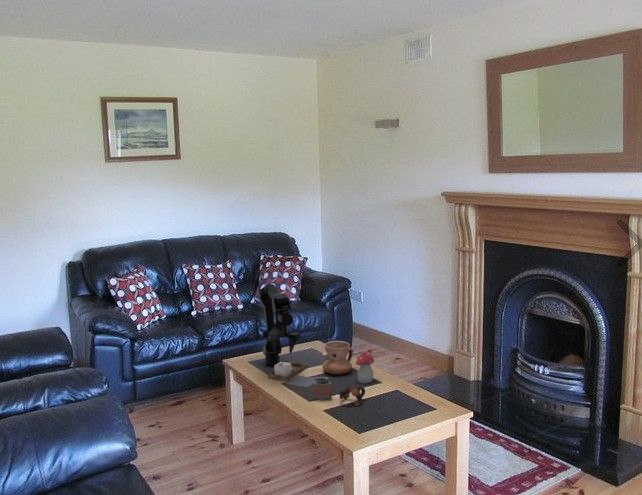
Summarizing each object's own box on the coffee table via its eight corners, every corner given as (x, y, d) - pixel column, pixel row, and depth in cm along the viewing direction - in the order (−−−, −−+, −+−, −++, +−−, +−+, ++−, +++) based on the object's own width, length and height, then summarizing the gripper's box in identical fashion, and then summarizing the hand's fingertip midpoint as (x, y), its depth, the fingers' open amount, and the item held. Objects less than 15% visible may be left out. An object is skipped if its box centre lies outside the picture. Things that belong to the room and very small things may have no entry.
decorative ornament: (372, 377, 289) (371, 347, 287) (377, 382, 282) (376, 351, 280) (353, 380, 286) (353, 350, 284) (358, 385, 280) (358, 354, 278)
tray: (268, 379, 291) (268, 374, 290) (289, 366, 309) (289, 361, 308) (287, 382, 286) (287, 377, 286) (307, 368, 304) (307, 364, 304)
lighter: (332, 397, 266) (331, 375, 264) (331, 400, 262) (330, 378, 261) (314, 397, 267) (313, 375, 265) (313, 400, 263) (312, 378, 262)
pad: (285, 384, 283) (285, 383, 283) (298, 376, 294) (297, 375, 294) (308, 388, 278) (308, 387, 278) (319, 379, 288) (319, 378, 288)
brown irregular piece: (352, 410, 253) (342, 392, 254) (342, 412, 261) (333, 395, 262) (373, 396, 259) (363, 379, 260) (362, 399, 267) (353, 382, 268)
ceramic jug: (331, 379, 288) (331, 351, 286) (314, 371, 300) (314, 343, 298) (361, 372, 298) (361, 344, 296) (344, 364, 309) (344, 337, 307)
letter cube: (274, 377, 292) (274, 365, 291) (281, 373, 297) (280, 361, 296) (285, 379, 289) (285, 366, 288) (291, 375, 294) (291, 363, 294)
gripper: (255, 323, 286) (257, 354, 288) (289, 327, 278) (290, 359, 280) (268, 317, 296) (269, 348, 298) (301, 321, 288) (302, 352, 290)
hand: (282, 352), depth 291 cm, fingers open, 9 cm apart
